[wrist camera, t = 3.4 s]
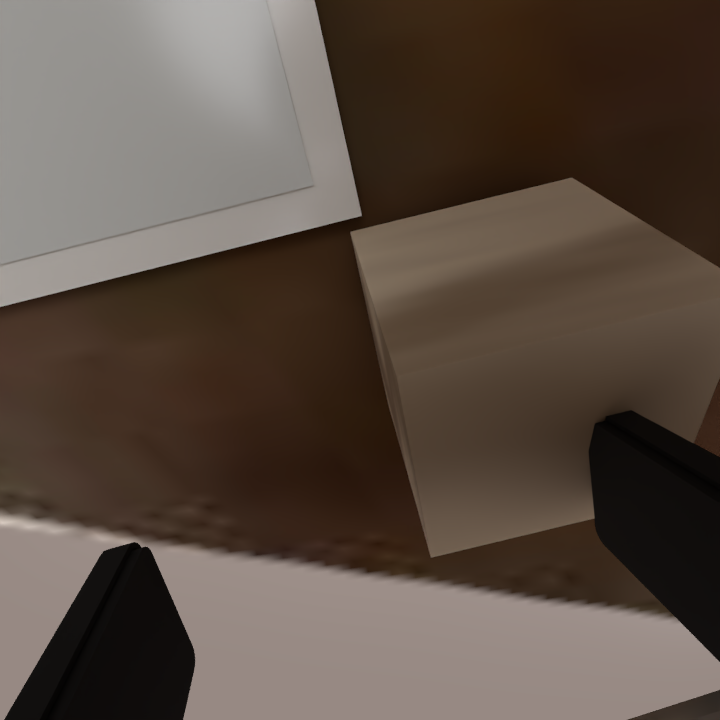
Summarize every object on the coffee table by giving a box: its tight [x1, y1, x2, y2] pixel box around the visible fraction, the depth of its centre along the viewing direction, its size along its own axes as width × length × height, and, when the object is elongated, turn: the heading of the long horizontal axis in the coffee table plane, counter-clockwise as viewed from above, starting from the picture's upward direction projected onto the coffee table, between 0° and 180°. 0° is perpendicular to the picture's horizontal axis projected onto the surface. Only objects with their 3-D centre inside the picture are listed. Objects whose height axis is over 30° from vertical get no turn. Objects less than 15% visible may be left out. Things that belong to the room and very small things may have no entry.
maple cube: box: [350, 178, 720, 558], centre depth 12 cm, size 6×6×6 cm
